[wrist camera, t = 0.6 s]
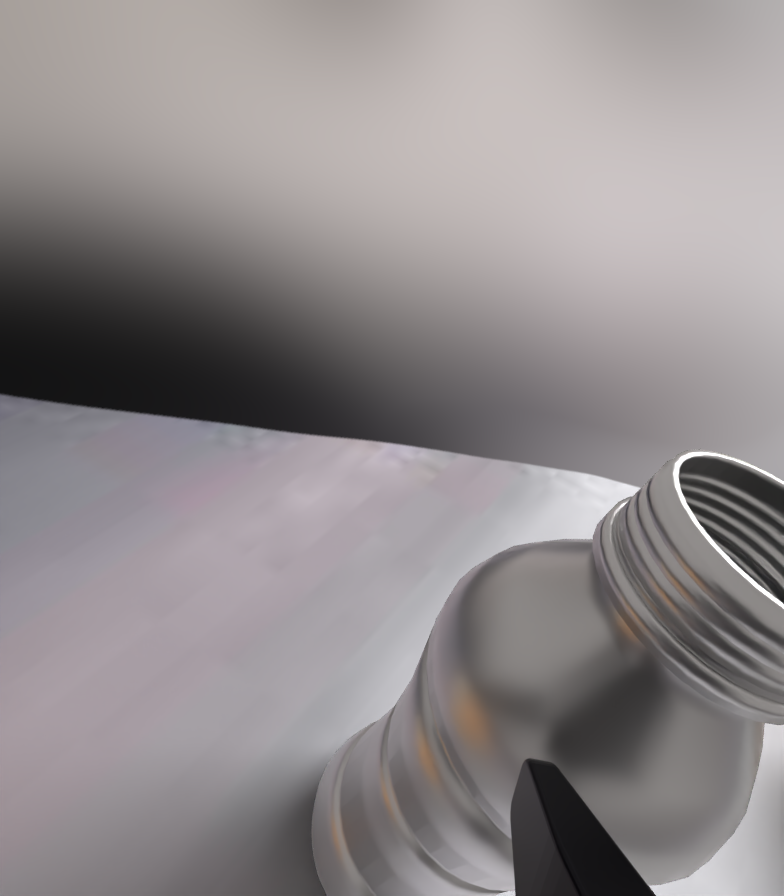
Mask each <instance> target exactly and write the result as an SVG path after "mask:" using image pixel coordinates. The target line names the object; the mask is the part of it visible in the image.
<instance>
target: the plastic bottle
mask: <svg viewBox="0 0 784 896" xmlns="http://www.w3.org/2000/svg"><path fill="white" fill-rule="evenodd" d="M765 723H769V724H776V725H783V724H784V482H783V481H782V480H780V479H778V478H777V477H775V476H773V475H771V474H770V473H768V472H766V471H764V470H761V469H760V468H757V467H755V466H753V465H751V464H749V463H747V462H744V461H742V460H739V459H737V458H734V457H732V456H729V455H725V454H722V453H718V452H714V451H707V450H700V449H698V450H687V451H684V452H682V453H680V454H678V455H677V456H676V457H675V458H674V459H672V460H669V461H667V462H666V463H665V464H664V465H663V466H662V467H661V469H659V471H658V472H657V473H656V474H655V475H653V476H652V478H650V480H649V481H648V482H647V483H646V484H645V485H644V486H643V487H642V488H641V489H640V490H639V491H638V492H637V493H636V494H635V495H634V496H632V497H628V498H626V499H624V500H622V501H620V502H618V503H617V504H616V505H615V506H614V507H613V508H612V509H611V510H610V511H609V512H608V513H607V514H606V515H605V516H604V518H603V519H602V520H601V521H600V522H599V523H598V524H597V527H596V529H595V532H594V535H593V540H592V539H561V540H552V541H543V542H534V543H528V544H523V545H517V546H513V547H511V548H509V549H506V550H504V551H502V552H500V553H498V554H496V555H494V556H493V557H491V558H489V559H487V560H486V561H484V562H482V563H480V564H479V565H477V566H475V567H474V568H472V569H471V570H470V571H469V572H468V573H467V574H466V575H465V576H463V577H462V578H461V579H460V580H459V581H458V583H457V585H456V586H455V588H454V589H453V591H452V592H451V594H450V595H449V597H448V599H447V601H446V602H445V604H444V606H443V608H442V610H441V611H440V613H439V615H438V617H437V618H436V621H435V624H434V626H433V629H432V631H431V634H430V636H429V638H428V641H427V643H426V646H425V648H424V651H423V653H422V655H421V658H420V660H419V663H418V665H417V668H416V670H415V673H414V675H413V677H412V679H411V681H410V682H409V684H408V686H407V687H406V689H405V690H404V692H403V694H402V695H401V697H400V698H399V700H398V701H397V703H396V705H395V706H394V707H393V708H392V709H391V710H390V711H389V712H388V713H386V714H385V715H384V716H383V717H382V718H381V719H380V720H378V721H376V722H374V723H372V724H370V725H368V726H367V727H365V728H364V729H362V730H360V731H359V732H358V733H356V734H355V735H353V736H352V737H351V738H349V739H348V740H347V741H346V742H345V743H344V744H343V745H342V746H341V747H340V748H339V749H338V750H337V751H336V752H335V754H334V755H333V757H332V758H331V760H330V761H329V763H328V764H327V766H326V768H325V770H324V773H323V775H322V777H321V780H320V782H319V785H318V789H317V794H316V798H315V802H314V808H313V815H312V830H311V839H312V850H313V858H314V862H315V865H316V869H317V873H318V877H319V879H320V882H321V884H322V886H323V888H324V891H325V893H326V895H327V896H496V895H497V894H499V893H502V892H506V891H513V890H515V880H514V865H513V851H512V837H511V823H510V809H511V801H512V797H513V794H514V791H515V787H516V784H517V780H518V777H519V773H520V770H521V767H522V764H523V762H524V761H525V759H528V758H532V759H538V760H543V761H548V762H552V763H554V764H555V765H556V766H557V767H558V768H559V769H560V771H561V772H562V773H563V775H564V776H565V777H566V779H567V780H568V781H569V783H570V784H571V785H572V786H573V788H574V789H575V790H576V792H577V793H578V794H579V796H580V797H581V798H582V800H583V801H584V802H585V804H586V805H587V806H588V807H589V809H590V810H591V811H592V813H593V814H594V815H595V817H596V818H597V819H598V821H599V822H600V823H601V824H602V826H603V827H604V828H605V830H606V831H607V832H608V834H609V835H610V836H611V838H612V839H613V840H614V841H615V843H616V844H617V845H618V847H619V848H620V849H621V851H622V852H623V853H624V855H625V856H626V857H627V858H628V860H629V861H630V862H631V864H632V865H633V866H634V868H635V869H636V870H637V872H638V873H639V874H640V875H641V877H642V878H643V879H644V881H645V882H646V883H647V885H648V886H652V885H661V884H665V883H669V882H672V881H676V880H679V879H683V878H686V877H689V876H690V875H691V874H693V873H694V872H695V871H697V870H698V869H699V868H700V867H702V866H703V865H704V864H706V863H707V862H708V861H709V860H710V859H711V858H712V857H713V856H714V855H715V854H716V853H717V851H718V850H719V849H720V848H721V847H722V846H723V845H724V844H725V843H726V841H727V840H728V839H729V838H730V837H731V836H732V835H733V834H734V832H735V830H736V829H737V827H738V825H739V824H740V822H741V820H742V819H743V817H744V815H745V814H746V811H747V807H748V804H749V800H750V796H751V793H752V789H753V785H754V782H755V778H756V774H757V771H758V767H759V762H760V757H761V752H762V747H763V735H764V724H765Z"/></svg>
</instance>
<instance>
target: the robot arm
mask: <svg viewBox="0 0 784 896" xmlns="http://www.w3.org/2000/svg"><path fill="white" fill-rule="evenodd" d="M510 823H511V837H512V851H513V865H514V880H515V894H516V896H656V895H655V894H654V892H653V891H652V890H651V889H650V887H649V886H648V885H647V883H646V882H645V881H644V879H643V878H642V877H641V875H640V874H639V873H638V872H637V870H636V869H635V868H634V866H633V865H632V864H631V862H630V861H629V860H628V858H627V857H626V856H625V855H624V853H623V852H622V851H621V849H620V848H619V847H618V845H617V844H616V843H615V841H614V840H613V839H612V838H611V836H610V835H609V834H608V832H607V831H606V830H605V828H604V827H603V826H602V824H601V823H600V822H599V821H598V819H597V818H596V817H595V815H594V814H593V813H592V811H591V810H590V809H589V807H588V806H587V805H586V804H585V802H584V801H583V800H582V798H581V797H580V796H579V794H578V793H577V792H576V790H575V789H574V788H573V786H572V785H571V784H570V783H569V781H568V780H567V779H566V777H565V776H564V775H563V773H562V772H561V771H560V769H559V768H558V767H557V766H556V765H555V764H554V763H552V762H548V761H543V760H538V759H532V758H528V759H525V761H524V762H523V764H522V767H521V770H520V773H519V777H518V780H517V784H516V787H515V791H514V794H513V797H512V801H511V809H510Z"/></svg>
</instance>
